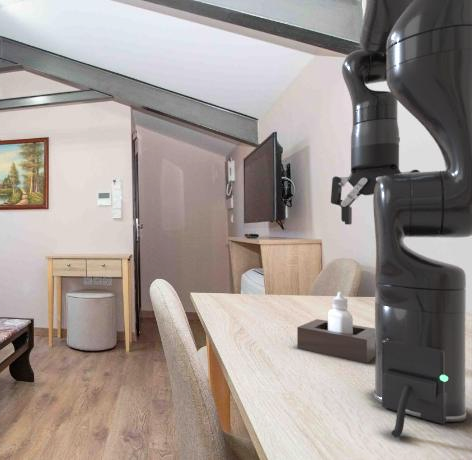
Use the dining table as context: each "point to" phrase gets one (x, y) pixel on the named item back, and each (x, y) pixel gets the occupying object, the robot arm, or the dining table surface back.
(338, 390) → the dining table surface
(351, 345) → the holder
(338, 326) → the eye dropper bottle
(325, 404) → the dining table surface
